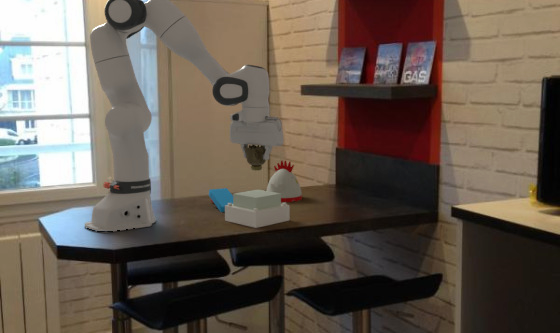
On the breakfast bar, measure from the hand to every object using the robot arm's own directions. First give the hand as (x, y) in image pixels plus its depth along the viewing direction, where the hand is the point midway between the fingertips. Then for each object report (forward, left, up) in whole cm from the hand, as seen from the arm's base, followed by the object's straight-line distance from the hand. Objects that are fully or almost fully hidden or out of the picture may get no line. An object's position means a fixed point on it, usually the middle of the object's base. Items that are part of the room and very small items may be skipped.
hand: (256, 158), depth 207 cm
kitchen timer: (+33, +21, -21) cm, 44 cm away
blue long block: (+7, +26, -21) cm, 34 cm away
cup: (0, 0, -4) cm, 4 cm away
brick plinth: (0, 0, -20) cm, 21 cm away
